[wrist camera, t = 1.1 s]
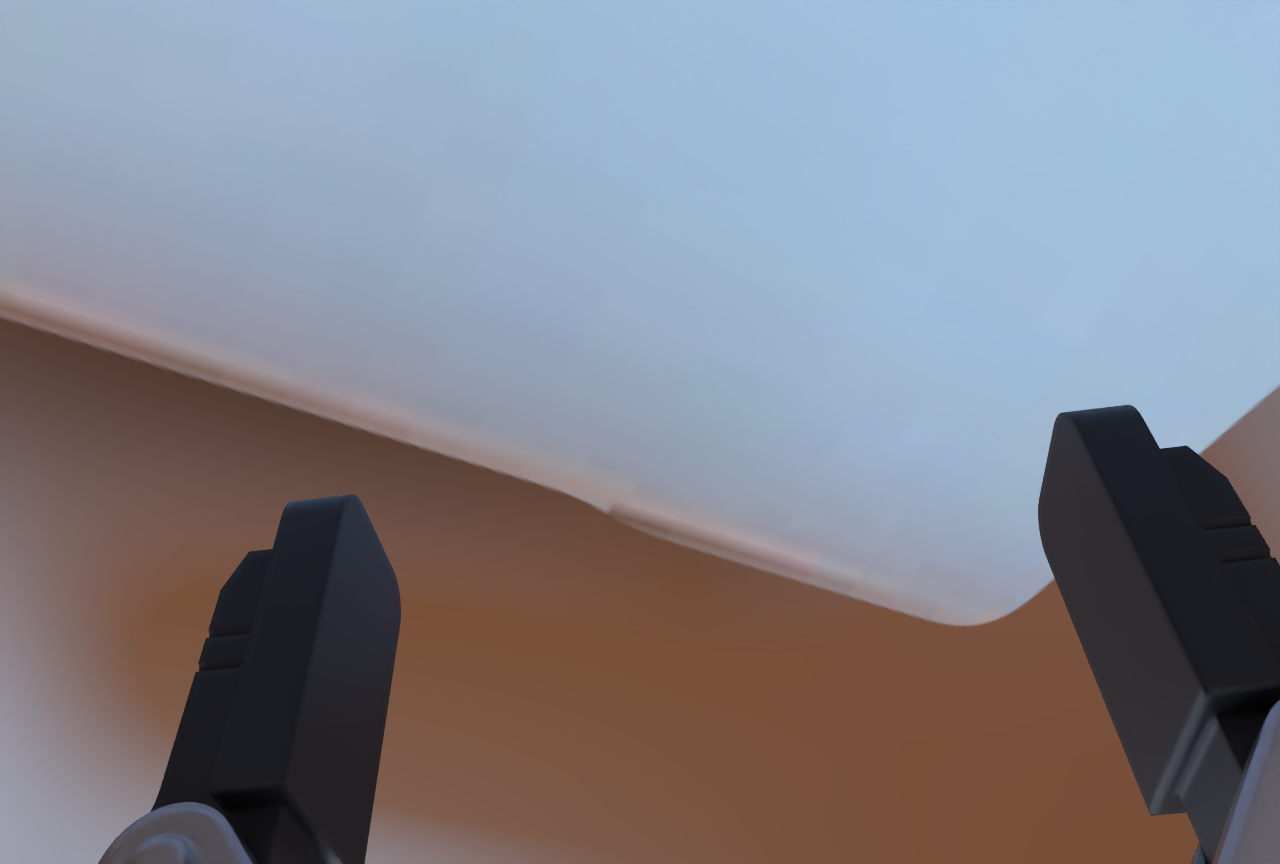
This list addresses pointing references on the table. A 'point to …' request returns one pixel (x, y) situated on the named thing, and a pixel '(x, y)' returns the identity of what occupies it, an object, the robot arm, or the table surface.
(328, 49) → the table surface
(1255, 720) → the robot arm
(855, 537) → the table surface
